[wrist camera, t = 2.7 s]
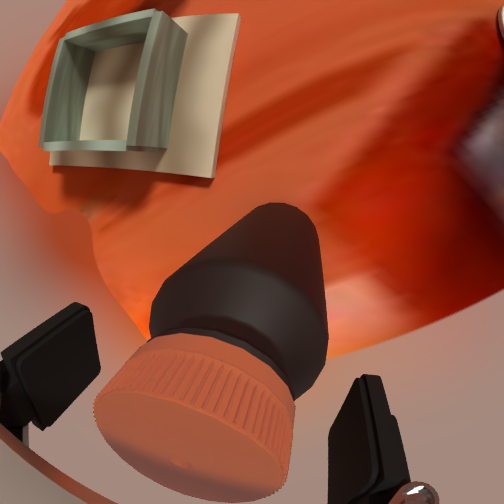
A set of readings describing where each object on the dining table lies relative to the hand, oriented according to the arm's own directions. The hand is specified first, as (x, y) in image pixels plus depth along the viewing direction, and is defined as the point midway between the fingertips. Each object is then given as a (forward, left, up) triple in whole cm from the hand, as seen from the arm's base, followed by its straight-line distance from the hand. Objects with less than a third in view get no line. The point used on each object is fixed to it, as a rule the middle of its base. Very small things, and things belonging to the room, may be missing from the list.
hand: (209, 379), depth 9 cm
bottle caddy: (+16, -12, -16) cm, 26 cm away
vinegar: (0, 0, -17) cm, 17 cm away
